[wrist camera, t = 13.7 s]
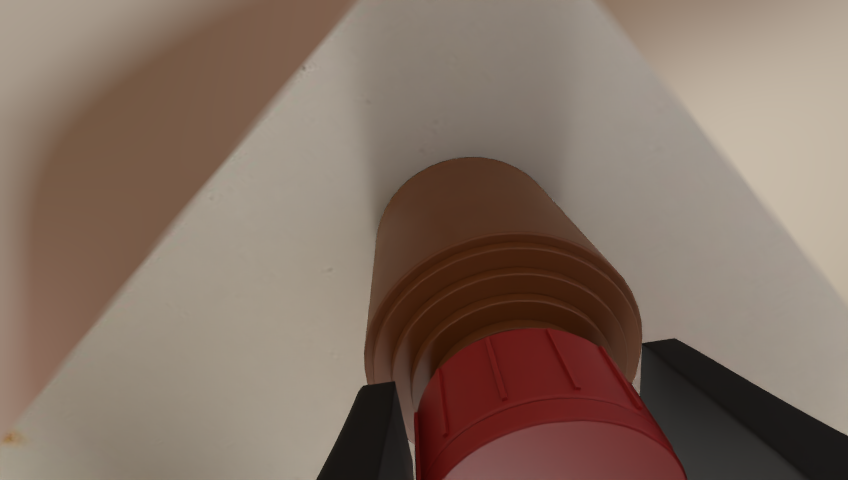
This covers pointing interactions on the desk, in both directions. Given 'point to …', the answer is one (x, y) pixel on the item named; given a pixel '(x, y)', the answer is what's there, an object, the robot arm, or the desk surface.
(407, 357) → the bottle
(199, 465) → the desk surface
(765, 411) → the robot arm
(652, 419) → the cap
